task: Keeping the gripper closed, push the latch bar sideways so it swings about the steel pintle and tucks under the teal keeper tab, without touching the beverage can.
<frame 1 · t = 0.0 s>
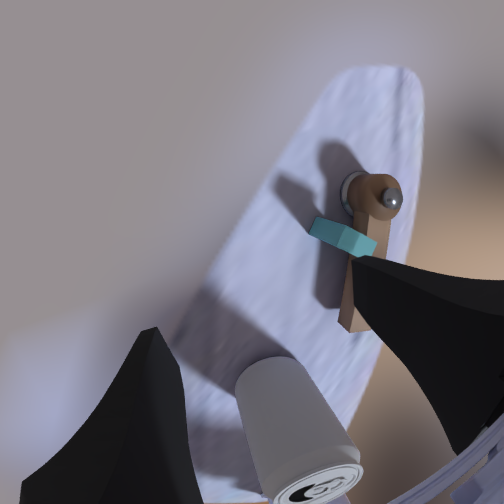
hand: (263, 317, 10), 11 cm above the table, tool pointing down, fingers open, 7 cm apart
latch bar: (367, 253, 20), point 2 cm above the table, hinge at 20.0°
pintle: (360, 194, 21), on the table
beverage can: (269, 380, 23), on the table
keeper: (327, 232, 21), on the table
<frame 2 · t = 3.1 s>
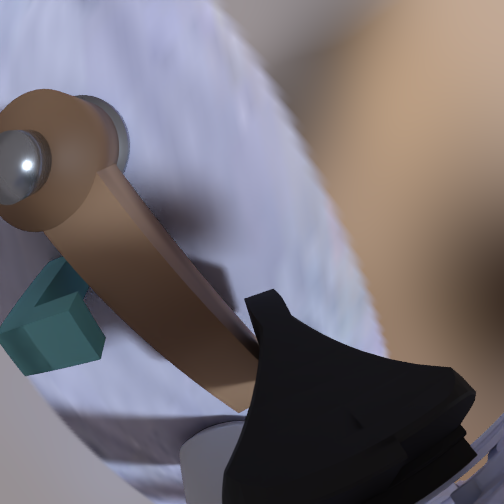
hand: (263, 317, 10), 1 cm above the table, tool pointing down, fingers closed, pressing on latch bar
latch bar: (147, 275, 8), point 2 cm above the table, hinge at 18.0°, touching gripper
pintle: (77, 151, 7), on the table
beverage can: (228, 439, 15), on the table
keeper: (84, 267, 9), on the table
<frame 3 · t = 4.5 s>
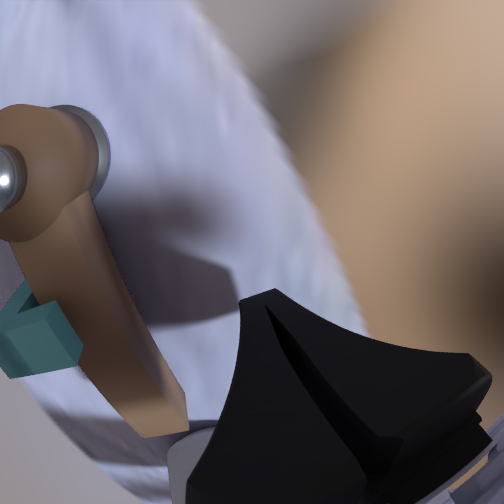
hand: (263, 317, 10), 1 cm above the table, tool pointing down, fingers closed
latch bar: (89, 303, 7), point 2 cm above the table, hinge at -0.7°
pintle: (60, 160, 7), on the table
beverage can: (216, 443, 15), on the table
keeper: (69, 273, 9), on the table
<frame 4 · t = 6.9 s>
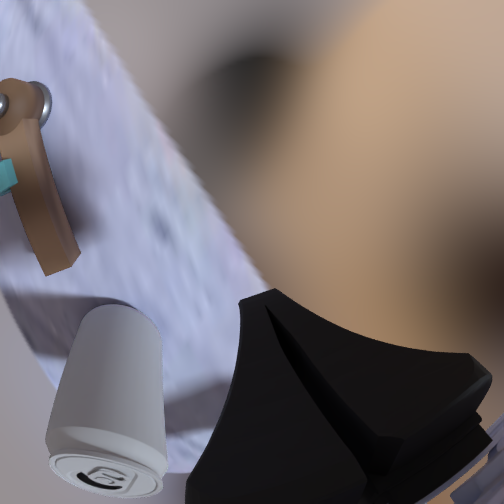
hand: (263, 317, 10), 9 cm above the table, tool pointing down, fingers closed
latch bar: (29, 173, 12), point 2 cm above the table, hinge at -0.8°
pintle: (28, 109, 12), on the table
beverage can: (121, 332, 19), on the table
keeper: (26, 171, 13), on the table
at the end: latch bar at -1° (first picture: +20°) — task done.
